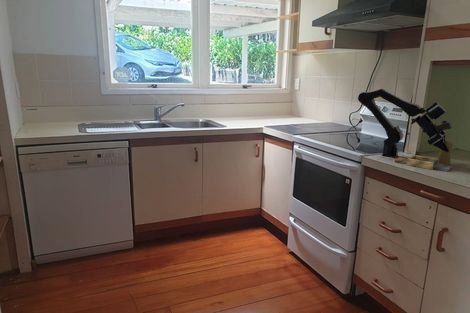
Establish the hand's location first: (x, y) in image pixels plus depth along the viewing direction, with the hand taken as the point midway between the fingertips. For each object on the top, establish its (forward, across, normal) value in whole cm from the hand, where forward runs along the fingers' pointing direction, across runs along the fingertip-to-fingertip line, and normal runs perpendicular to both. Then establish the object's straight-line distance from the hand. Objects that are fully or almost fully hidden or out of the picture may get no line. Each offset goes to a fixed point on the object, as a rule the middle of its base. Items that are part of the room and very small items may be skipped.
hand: (448, 150), depth 166 cm
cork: (+4, 0, +6) cm, 7 cm away
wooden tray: (-2, -10, +11) cm, 15 cm away
